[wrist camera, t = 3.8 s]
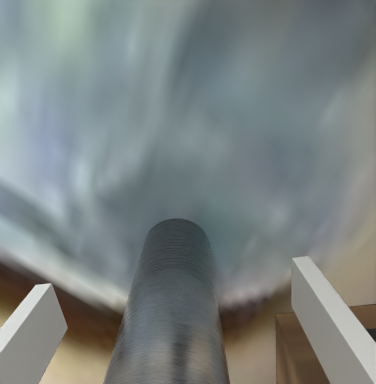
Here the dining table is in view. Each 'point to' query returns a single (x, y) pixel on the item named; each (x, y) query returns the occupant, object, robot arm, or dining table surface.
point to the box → (306, 348)
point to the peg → (171, 314)
